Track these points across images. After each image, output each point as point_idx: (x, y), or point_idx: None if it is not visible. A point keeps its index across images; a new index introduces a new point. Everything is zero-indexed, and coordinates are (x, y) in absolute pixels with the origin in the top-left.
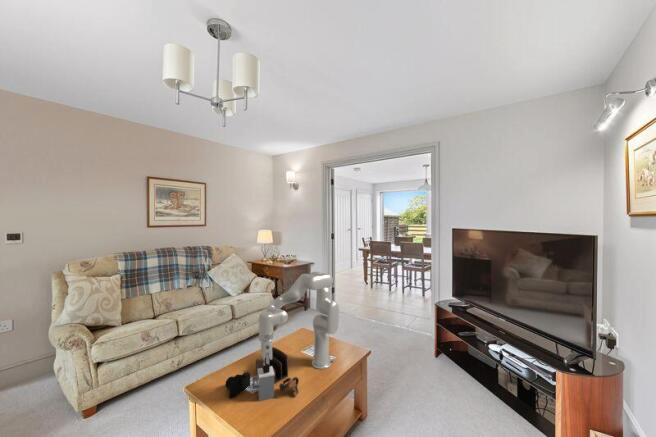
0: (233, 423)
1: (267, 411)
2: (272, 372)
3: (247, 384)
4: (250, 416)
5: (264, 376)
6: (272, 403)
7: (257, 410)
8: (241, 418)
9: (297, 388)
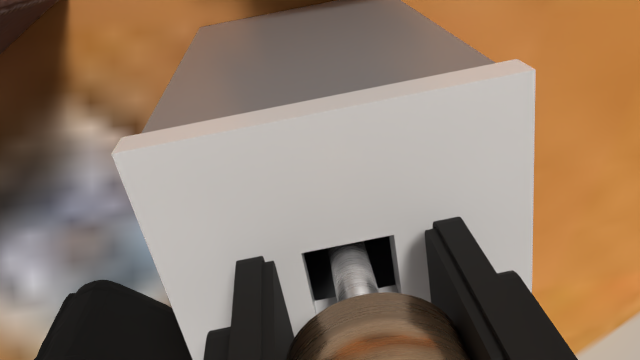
0: (620, 314)
1: (593, 57)
2: (451, 129)
3: (144, 324)
4: (596, 209)
5: (522, 277)
6: (480, 6)
7: (539, 159)
8: (589, 272)
9: None
